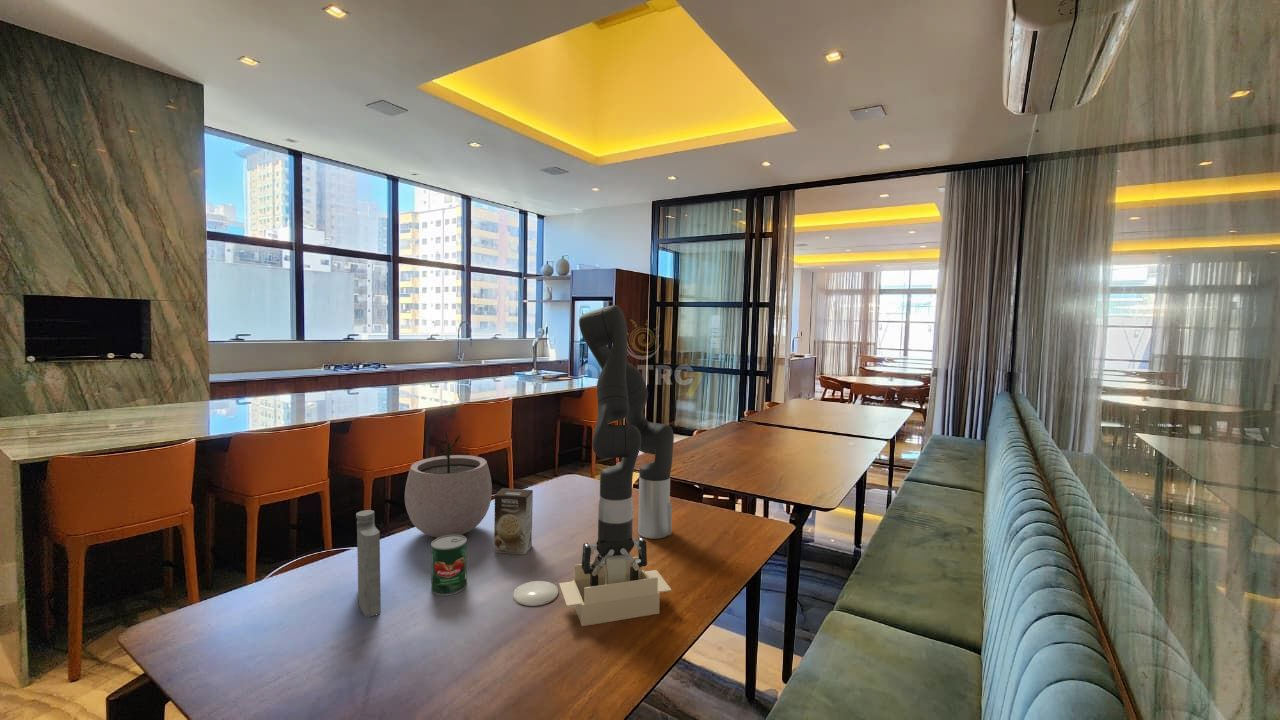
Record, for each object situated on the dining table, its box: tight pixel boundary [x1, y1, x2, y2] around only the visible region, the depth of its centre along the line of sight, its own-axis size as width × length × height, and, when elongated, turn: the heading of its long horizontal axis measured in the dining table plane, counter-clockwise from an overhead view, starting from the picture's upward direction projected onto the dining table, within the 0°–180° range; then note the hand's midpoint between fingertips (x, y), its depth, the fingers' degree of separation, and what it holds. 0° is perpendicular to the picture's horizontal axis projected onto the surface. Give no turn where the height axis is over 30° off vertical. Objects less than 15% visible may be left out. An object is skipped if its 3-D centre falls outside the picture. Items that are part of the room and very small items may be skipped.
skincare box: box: [605, 555, 626, 585], centre depth 114 cm, size 6×4×12 cm
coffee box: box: [493, 487, 534, 555], centre depth 142 cm, size 9×6×16 cm
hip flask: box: [355, 509, 382, 617], centre depth 115 cm, size 16×4×20 cm, turn 31°
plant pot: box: [404, 432, 493, 538], centre depth 152 cm, size 24×24×30 cm
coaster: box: [513, 580, 559, 607], centre depth 119 cm, size 10×10×1 cm
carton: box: [558, 556, 672, 627], centre depth 114 cm, size 23×11×8 cm, turn 108°
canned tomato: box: [430, 535, 468, 596], centre depth 121 cm, size 8×8×11 cm
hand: (614, 587), depth 114 cm, fingers open, 8 cm apart
